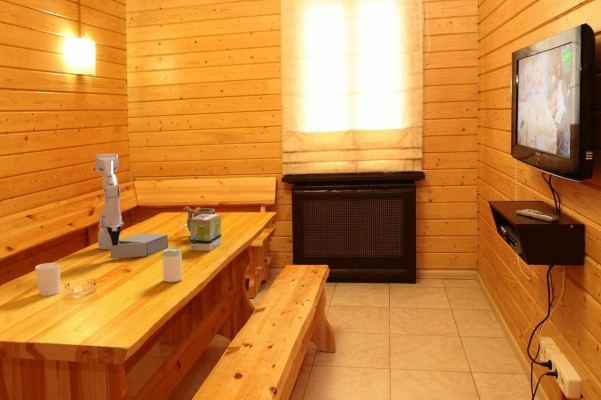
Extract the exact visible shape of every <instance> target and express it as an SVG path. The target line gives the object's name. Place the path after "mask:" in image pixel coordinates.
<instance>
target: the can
mask: <svg viewBox="0 0 601 400" xmlns="http://www.w3.org/2000/svg"><path fill="white" fill-rule="evenodd" d="M161 261H162V280H163V281H164V282H165V283H169V284H170V283H171V284H173V283H178V282H180V281H181V280H183V261H182V252H181V250H180V248H177V247H168V248H166V249H163V252H162V253H161Z"/></svg>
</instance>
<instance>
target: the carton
mask: <svg viewBox="0 0 601 400" xmlns="http://www.w3.org/2000/svg"><path fill="white" fill-rule="evenodd" d="M142 242H146V248H147V256H146V257H149V256H151V255H154V254H156V253H159V252H161V251H164V250H165V249H168V248H169V239H168V235H167V234H159V233H145V232H144V233H143V232H139V233H136V234H133V235H131V236H128V237H125V238H122V239H120V240H119V244H129V243H142ZM158 251H159V252H158Z"/></svg>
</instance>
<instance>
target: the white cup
mask: <svg viewBox="0 0 601 400" xmlns="http://www.w3.org/2000/svg"><path fill="white" fill-rule="evenodd" d="M60 266H61V264H60V263H58V262H46V263H40V264H38V265H36V266H35V267H34V269H35V275H36V282H37V287H38V293H39V294H38V295H40V296H42V297H51V296H55V295H58V294H60V292H61V267H60Z"/></svg>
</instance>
